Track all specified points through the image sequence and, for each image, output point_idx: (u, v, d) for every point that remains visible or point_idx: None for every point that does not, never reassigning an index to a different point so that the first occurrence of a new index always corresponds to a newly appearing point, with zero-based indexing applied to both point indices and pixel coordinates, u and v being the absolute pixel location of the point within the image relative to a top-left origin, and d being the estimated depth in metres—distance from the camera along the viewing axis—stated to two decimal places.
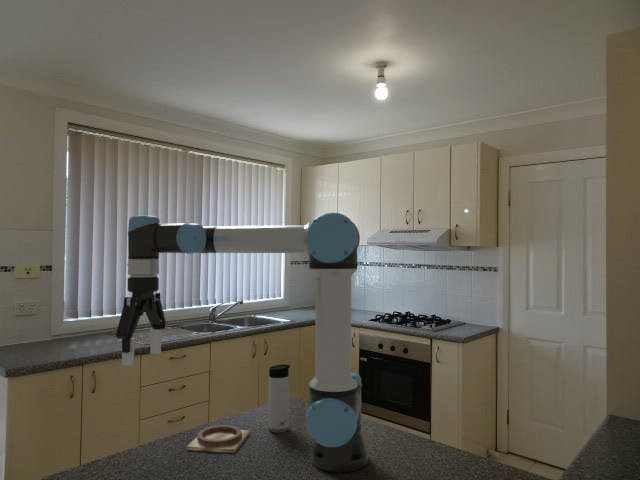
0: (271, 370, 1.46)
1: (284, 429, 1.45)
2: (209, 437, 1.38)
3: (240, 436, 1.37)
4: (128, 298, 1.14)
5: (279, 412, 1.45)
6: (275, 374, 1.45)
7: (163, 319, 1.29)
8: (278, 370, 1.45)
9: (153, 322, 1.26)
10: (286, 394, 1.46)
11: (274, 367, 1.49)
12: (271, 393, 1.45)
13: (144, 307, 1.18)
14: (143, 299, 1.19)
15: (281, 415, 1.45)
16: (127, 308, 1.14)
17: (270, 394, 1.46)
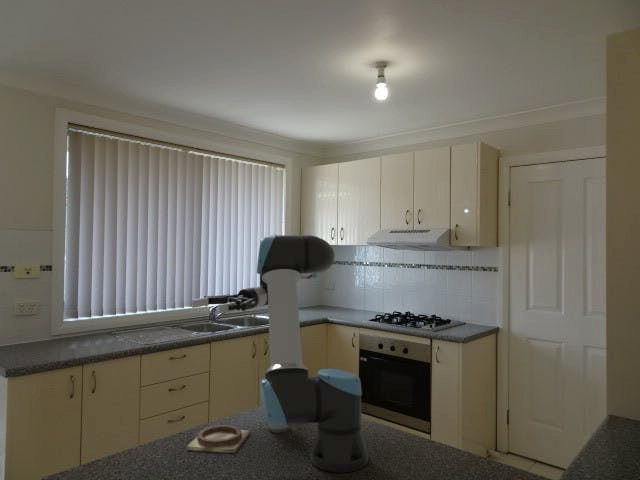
0: None
1: (284, 429, 1.45)
2: (209, 437, 1.38)
3: (240, 436, 1.37)
4: None
5: None
6: None
7: (244, 302, 1.58)
8: None
9: None
10: None
11: None
12: None
13: (231, 295, 1.68)
14: None
15: None
16: None
17: None
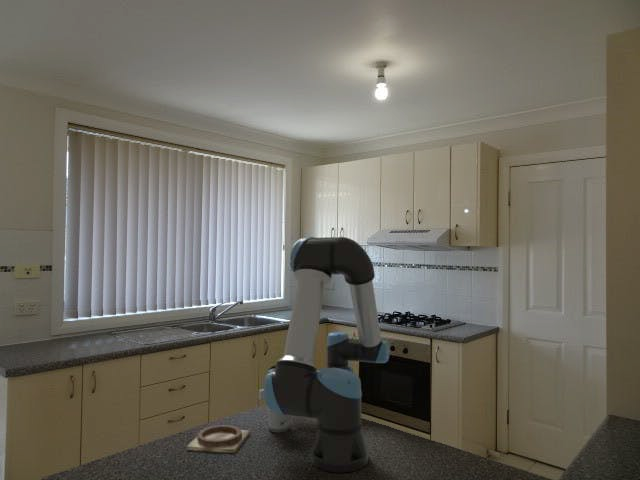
0: None
1: (284, 429, 1.45)
2: (209, 437, 1.38)
3: (240, 436, 1.37)
4: None
5: None
6: None
7: None
8: None
9: None
10: None
11: (274, 367, 1.49)
12: None
13: None
14: None
15: (281, 415, 1.45)
16: None
17: None
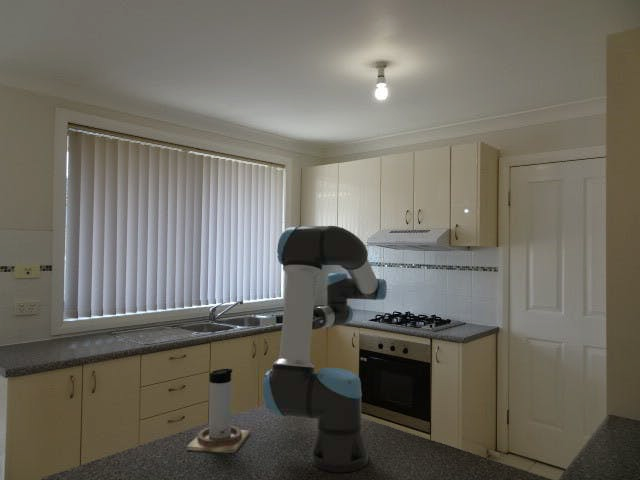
0: (211, 375, 1.36)
1: (225, 438, 1.35)
2: None
3: (240, 436, 1.37)
4: None
5: (220, 420, 1.35)
6: (215, 379, 1.35)
7: (312, 320, 1.53)
8: (218, 375, 1.35)
9: None
10: (227, 401, 1.36)
11: (216, 372, 1.39)
12: (211, 400, 1.36)
13: None
14: None
15: (221, 423, 1.35)
16: None
17: (210, 401, 1.36)
